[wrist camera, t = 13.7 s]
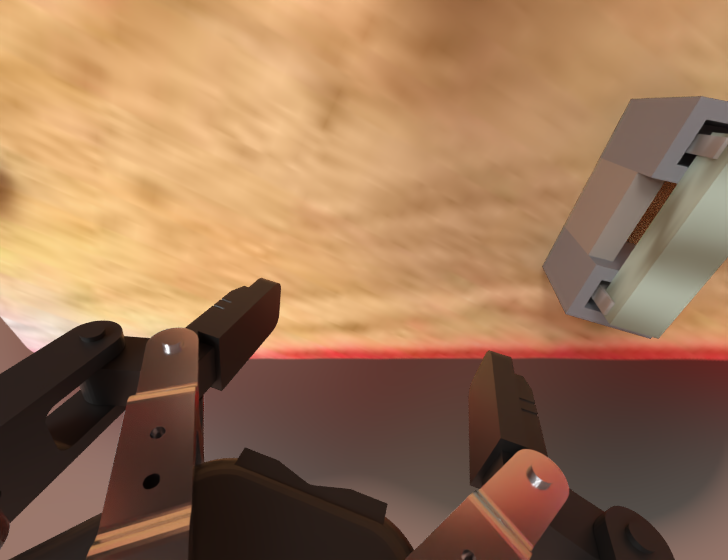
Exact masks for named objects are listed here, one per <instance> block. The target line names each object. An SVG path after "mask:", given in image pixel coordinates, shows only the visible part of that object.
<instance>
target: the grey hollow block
mask: <svg viewBox="0 0 728 560" xmlns="http://www.w3.org/2000/svg"><path fill="white" fill-rule="evenodd" d="M712 132H714V133H724V134H728V101H723V100H718V99H713V98H707V97H702V96H698V97H671V98H644V99H631V100H630V102H629V104H628V106H627V108H626V110H625V111H624V113H623V115H622V117H621V119H620V121H619V123H618V125H617V127H616V128H615V130H614V132H613V134H612V136H611V138H610V140H609V142H608V144H607V145H606V147H605V149H604V151H603V153H602V155H601V157H600V159H599V161H598V162H597V164H596V166H595V168H594V170H593V172H592V174H591V176H590V178H589V179H588V181H587V183H586V185H585V187H584V189H583V191H582V193H581V194H580V196H579V198H578V200H577V202H576V204H575V206H574V208H573V210H572V211H571V213H570V215H569V217H568V219H567V221H566V223H565V225H564V227H563V228H562V230H561V232H560V234H559V236H558V238H557V240H556V242H555V244H554V245H553V247H552V249H551V251H550V253H549V255H548V257H547V259H546V261H545V262H544V264H543V266H542V267H543V269H544V271H545V273H546V275H547V277H548V279H549V281H550V283H551V285H552V287H553V289H554V291H555V293H556V295H557V297H558V299H559V301H560V304H561V306H562V308H563V310H564V312H565V314H567V315H571V316H574V317H577V318H581V319H584V320H588V321H591V322H595V323H598V324H601V325H605V326H608V327H612V328H615V329H619V330H622V331H625V332H629V333H632V334H636V335H639V336H643V337H646V338H649V339H651V338H652V337H651V336H647V335H644V334H640V333H637V332H634V331H630V330H627V329H623V328H620V327H617V326H613V325H610V324H609V323H608V321H607V320H606V318H605V317H604V315H603V314H602V312H601V311H600V309H599V308H598V306H597V305H596V303H595V302H594V300H593V299H592V297H591V296H592V294H593V293H594V291H595V290H596V288H597V287H598V285H599V284H600V282H601V281H602V280H604V281H608V282H612V280H613V279H614V277H615V276H616V274H617V273H618V271H619V270H620V268H621V267H622V265H623V264H624V262H625V261H626V260H627V258H628V257H629V255H630V254H631V252H632V251H633V249H634V248H635V246H636V245H635V244H633V243H629V242H626V241H627V239H628V238H629V236H630V235H631V233H632V232H633V230H634V228H635V227H636V225H637V224H638V222H639V221H640V219H641V218H642V216H643V215H644V213H645V212H646V210H647V208H648V207H649V205H650V204H651V202H652V201H653V199H654V198H655V196H656V195H657V193H658V192H659V190H660V188H661V187H662V185H663V184H664V182H665V181H669V182H673V183H677V184H678V183H679V181H680V180H681V178H682V177H683V175H684V174H685V172H686V171H687V169H688V168H689V166H690V165H691V163H692V162H693V160H694V159H695V157H696V156H697V155H694V154H689V153H685V152H686V150H687V149H688V147H689V146H690V144H691V142H692V141H693V139H694V138H695V136H696V135H697V134H704V135H711V134H712Z"/></svg>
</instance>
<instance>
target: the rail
mask: <svg viewBox="0 0 728 560" xmlns="http://www.w3.org/2000/svg"><path fill="white" fill-rule="evenodd" d="M685 153H689V154H694V155H697V156H696V157H695V159H694V160H693V162H692V163H691V165H690V166H689V168H688V169H687V171H686V172H685V174H684V175H683V177H682V178H681V180H680V181H679V183H678V184H677V185H676V187H675V188H674V190H673V191H672V193H671V194H670V196H669V197H668V199H667V200H666V202H665V203H664V205H663V206H662V208H661V209H660V211H659V212H658V214H657V215H656V217H655V218H654V220H653V221H652V222H651V224H650V225H649V227H648V228H647V230H646V231H645V233H644V234H643V236H642V237H641V239H640V240H639V242H638V243H637V245H636V246H635V248H634V249H633V251H632V252H631V254H630V255H629V257H628V258H627V260H626V261H625V262H624V264H623V265H622V267H621V268H620V270H619V271H618V273H617V274H616V276H615V277H614V279H613V280H612V282H608V281H604V280H602V281H601V282H600V284H599V285H598V287H597V288H596V290H595V291H594V293H593V294H592V296H591V297H592V299H593V300H594V302H595V303H596V305H597V306H598V308H599V309H600V311H601V312H602V314H603V315H604V317H605V318H606V320H607V321H608V323H609V324H610V325H613V326H617V327H620V328H623V329H627V330H630V331H634V332H637V333H640V334H644V335H647V336H651V337H654V338H658V339H659V337H660V336H661V335H662V334H663V333H664V332H665V330H666V329H667V328H668V327H669V326H670V324H671V323H672V322H673V321H674V320H675V319H676V317H677V316H678V315H679V314H680V313H681V312H682V310H683V309H684V308H685V307H686V306H687V304H688V303H689V302H690V301H691V300H692V299H693V297H694V296H695V295H696V294H697V293H698V292H699V290H700V289H701V288H702V287H703V286H704V285H705V283H706V282H707V281H708V280H709V279H710V277H711V276H712V275H713V274H714V273H715V272H716V270H717V269H718V268H719V267H720V266H721V265H722V263H723V262H724V261H725V260H726V259H727V257H728V134H724V133H714V132H712V134H711V135H704V134H697V135H696V136H695V138H694V139H693V141H692V142H691V144H690V146H689V147H688V149H687V150H686V152H685Z"/></svg>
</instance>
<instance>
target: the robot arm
mask: <svg viewBox="0 0 728 560" xmlns="http://www.w3.org/2000/svg"><path fill="white" fill-rule="evenodd" d="M280 294H281V286H280V284H279V283H276V282H273V281H270V280H266V279H263V278H260V279H258V280H257V281H256V282H255V283H253V284H252V285H251V286H250V287H246V286H243V287H240V288H238V289H235V290H232V291H231V292H229V293H228V294H227V295H226V296H224V297H223V298H222V300H219V301H218V302H217V303H216V304H214V306H212V307H211V308H209V309H208V310H207V311H206V312H204V313H203V314H202V315H201V316H199V317H198V318H197V319H196V320H194V321H193V322H192V323H191V324H189V325H188V326H187V327H186V328H170V329H166V330H163V331H161V332H158V333H157V334H155V335H153V336H152V337H151V338H141V337H128V336H124V335H123V331H122V328H121V326H120V325H119V324H117V323H115V322H112V321H94V322H89V323H85V324H82V325H80V326H77V327H75V328H74V329H72V330H70V331H69V332H67V333H65V334H64V335H62V336H61V337H59V338H57V339H56V340H54V341H53V342H51V343H49V344H48V345H46V346H45V347H43V348H41V349H40V350H38V351H36V352H35V353H33V354H32V355H30V356H29V357H27V358H25V359H24V360H22V361H20V362H19V363H17V364H16V365H14V366H12V367H11V368H9V369H8V370H6V371H4V372H3V373H1V374H0V549H1V547H2V546H3V544H4V542H5V540H6V539H7V536H8V533H9V528H10V523H11V521H13V520H14V519H15V518H16V516H18V515H19V514H20V513H21V512H22V511H23V510H24V509H25V508H26V507H27V506H28V505H29V504H30V503H31V502H32V501H33V500H34V499H35V498H36V497H37V496H38V495H39V494H40V493H41V492H42V491H43V490H44V489H45V488H46V487H47V486H48V485H49V484H50V483H51V482H52V481H53V480H54V479H55V478H56V477H57V476H58V475H59V474H60V473H61V472H63V471H64V470H65V469H66V468H67V466H68V465H70V464H71V463H72V462H73V461H74V460H75V459H76V458H77V457H78V456H79V455H80V454H81V453H82V452H83V451H84V450H85V449H86V448H87V447H88V446H89V445H90V444H91V443H92V442H93V441H94V440H95V439H96V438H97V437H98V436H99V435H100V434H101V433H102V432H103V431H104V430H105V429H106V428H107V427H108V426H109V425H110V424H111V423H112V422H113V421H114V420H115V419H117V418H118V417H119V416H120V415H121V414H122V413H123V412H124V411H125V413H124V417H123V422H122V426H121V431H120V436H119V440H118V444H117V449H116V453H115V458H114V462H113V467H112V471H111V476H110V480H109V485H108V489H107V494H106V498H105V502H104V507H103V511H102V513H100V514H98V515H96V516H94V517H92V518H90V519H88V520H86V521H84V522H82V523H80V524H79V525H76V526H75V527H72V528H70V529H69V530H67V531H65V532H63V533H61V534H59V535H57V536H55V537H53V538H51V539H49V540H47V541H45V542H43V543H41V544H39V545H37V546H35V547H33V548H31V549H29V550H27V551H25V552H23V553H21V554H19V555H17V556H15V557H13V558H11V559H9V560H675V559H674V557H673V554H672V552H671V550H670V548H669V546H668V545H667V543H666V541H665V540H664V539H663V537H662V536H661V535H660V533H659V532H658V531H657V530H656V529H655V528H654V527H653V526H652V525H651V524H650V523H649V522H648V521H647V520H646V519H644V518H643V517H642V516H640V515H639V514H637V513H636V512H634V511H632V510H630V509H628V508H625V507H621V506H613V507H611V508H609V509H608V510H607V511H605V512H604V511H602V510H601V509H599V508H598V507H596V506H595V505H593V504H592V503H590V502H588V501H587V500H585V499H584V498H582V497H581V496H579V495H578V494H576V493H575V492H573V491H572V490H571V489H570V488H569V486H568V483H567V480H566V478H565V476H564V475H563V473H562V471H561V470H560V469H559V468H558V466H557V465H556V464H555V463H554V462H553V461H552V460H550V459H549V458H548V455H547V452H546V447H545V443H544V438H543V434H542V430H541V426H540V422H539V418H538V416H537V414H538V413H537V409H536V405H534V404H535V401H534V397H533V393H532V390H531V388H530V386H529V385H528V383H527V382H526V380H525V379H524V377H523V376H520V375H517V374H515V373H514V368H513V362H512V359H511V357H508V356H505V355H502V354H499V353H496V352H492V351H488V352H487V353H486V354H485V356H484V358H483V360H482V362H481V364H480V366H479V368H478V370H477V372H476V374H475V376H474V378H473V380H472V383H471V385H470V390H469V397H468V399H469V400H468V401H469V459H470V460H469V462H470V485H471V486H474V487H476V488H479V489H480V490H479V491H474V492H473V493H472V494H471V495H470V496H468V497H467V498H466V499H465V501H463V502H462V503H461V504H460V505H459V506H458V507H457V508H456V509H455V510H454V511H453V512H452V513H451V514H450V515H449V516H448V517H447V518H446V519H445V520H444V521H443V522H442V523H441V524H440V525H439V526H438V527H437V528H436V529H435V530H434V531H433V532H432V533H431V534H430V535H429V536H428V537H427V538H426V539H425V540H424V541H423V542H422V543H421V544H420V545H419V546H418V547H417V548H416V549H415V550H414V549H413V547H412V546H411V544H410V543H409V541H408V540H407V538H406V537H405V536H404V534H403V533H402V532H401V531H400V530H399V528H397V527H396V526H395V525H394V524H393V523H392V522H391V521H390V520H389V519H387V518H386V517H385V514H386V508H387V503H384V502H382V501H379V500H377V499H374V498H372V497H369V496H367V495H364V494H361V493H359V492H356V491H354V490H351V489H343V488H334V487H323V486H314V485H310V484H308V483H307V482H305V481H304V480H303V479H301V478H300V477H299V476H297V475H296V474H295V473H294V472H292V471H291V470H290V469H289V468H287V467H286V466H285V465H283V464H282V463H281V462H280V461H278V460H276V459H273V458H271V457H268V456H266V455H263V454H260V453H258V452H255V451H252V450H250V449H248V448H244V450H243V452H242V453H241V455H240V456H239V458H223V459H216V460H212V461H208V462H205V459H204V393H205V392H206V391H207V390H208V389H209V388H210V387H212V388H215V389H218V390H220V391H222V390H223V389H224V388H225V387H226V386H227V384H228V383H229V382H230V381H231V380H232V378H233V377H234V376H235V375H236V374H237V373H238V371H239V370H240V369H241V368H242V367H243V365H244V364H245V363H246V362H247V361H248V360H249V358H250V357H251V356H252V355H253V354H254V352H255V351H256V350H257V349H258V348H259V347H260V345H261V344H262V343H263V342H264V341H265V339H266V338H267V337H268V336H269V335H270V334H271V332H272V331H273V330H274V328H275V327H276V324H277V322H278V319H279V309H280ZM78 386H80V389H81V390H79V391H78V392H77V393H76V394H75V395H73V396H72V397H71V398H70V399H68V400H67V401H66V402H65V403H63V404H62V405H61V406H60V407H58V408H57V409H56V410H55V411H53V412H52V413H51V414H50V415H49V416H47V414H48V412H49V411H50V410H51V408H52V407H53V406H54V405H55V404H57V403H58V402H59V401H60V400H61V399H63V398H64V397H66V396H67V395H68V394H69V393H71V392H72V391H73V390H74V389H76V388H77V387H78Z"/></svg>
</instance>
